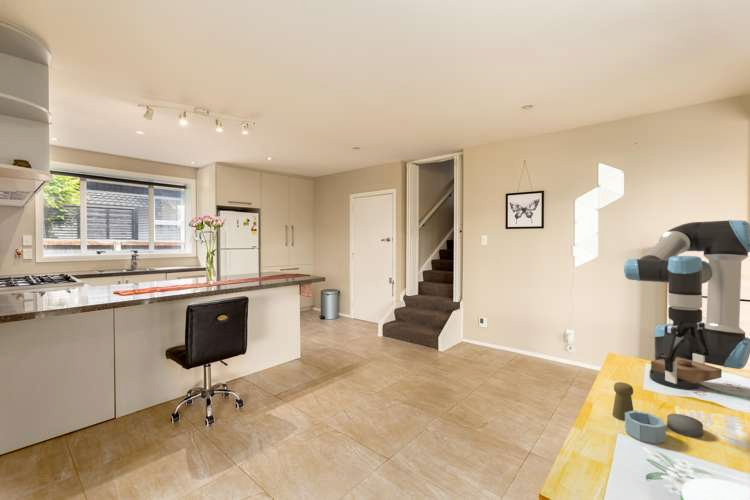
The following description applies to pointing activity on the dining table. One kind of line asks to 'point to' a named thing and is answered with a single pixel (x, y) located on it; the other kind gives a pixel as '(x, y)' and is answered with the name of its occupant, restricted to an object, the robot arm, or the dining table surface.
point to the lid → (689, 370)
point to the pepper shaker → (622, 400)
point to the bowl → (645, 427)
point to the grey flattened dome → (685, 425)
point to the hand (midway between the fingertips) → (685, 378)
